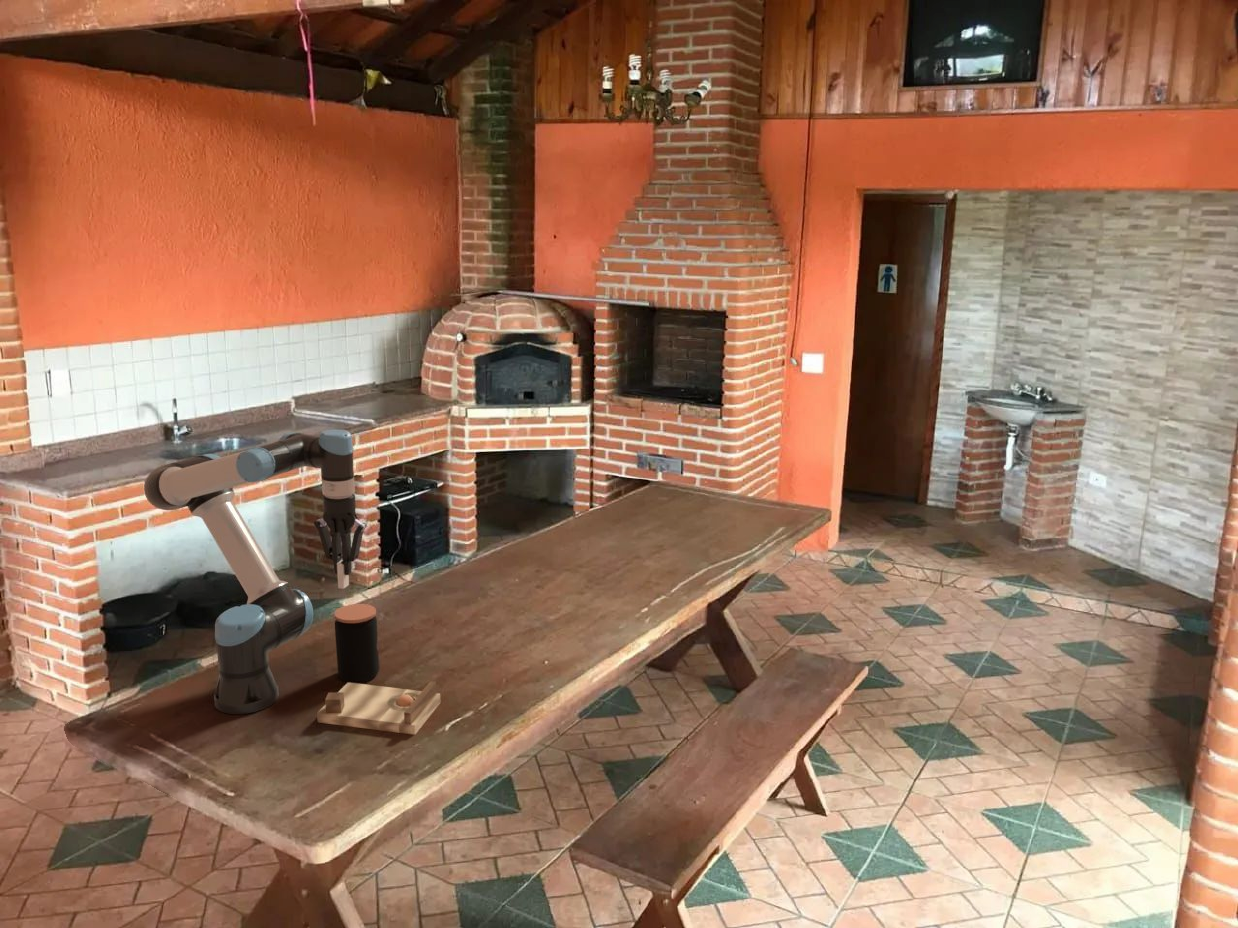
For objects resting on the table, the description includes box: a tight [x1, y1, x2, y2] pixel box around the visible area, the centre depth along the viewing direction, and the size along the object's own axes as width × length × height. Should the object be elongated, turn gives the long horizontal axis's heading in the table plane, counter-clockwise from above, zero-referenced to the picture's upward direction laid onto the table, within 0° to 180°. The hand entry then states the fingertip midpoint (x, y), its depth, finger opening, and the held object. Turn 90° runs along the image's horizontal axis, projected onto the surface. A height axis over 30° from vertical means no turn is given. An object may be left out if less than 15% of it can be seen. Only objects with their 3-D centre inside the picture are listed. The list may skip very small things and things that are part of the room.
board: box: [316, 680, 442, 736], centre depth 248 cm, size 25×16×6 cm, turn 78°
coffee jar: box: [333, 603, 380, 684], centre depth 265 cm, size 11×11×18 cm
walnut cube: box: [324, 691, 344, 713], centre depth 244 cm, size 4×4×4 cm
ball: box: [397, 695, 414, 707], centre depth 249 cm, size 4×4×4 cm
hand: (343, 586), depth 248 cm, fingers closed
